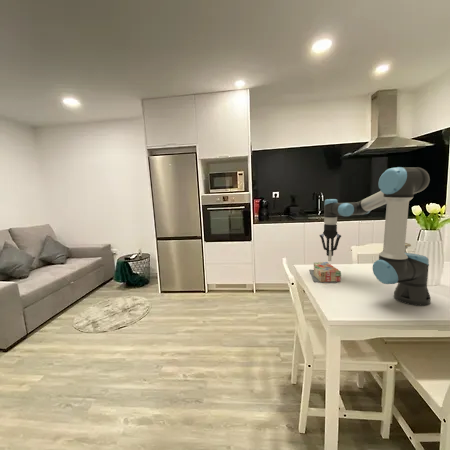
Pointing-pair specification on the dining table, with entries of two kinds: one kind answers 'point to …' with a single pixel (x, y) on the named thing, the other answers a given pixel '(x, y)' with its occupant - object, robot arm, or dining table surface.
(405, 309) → the dining table surface
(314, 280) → the mat
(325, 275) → the stack of blocks
